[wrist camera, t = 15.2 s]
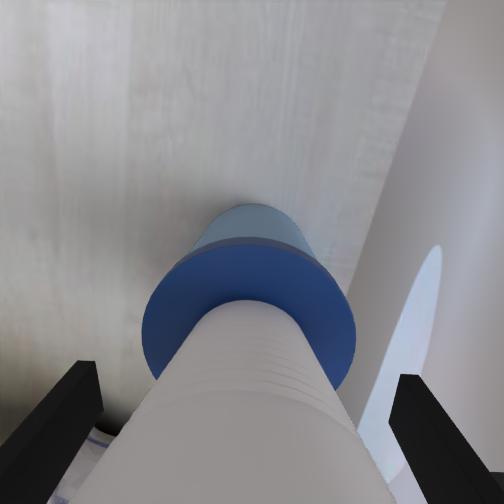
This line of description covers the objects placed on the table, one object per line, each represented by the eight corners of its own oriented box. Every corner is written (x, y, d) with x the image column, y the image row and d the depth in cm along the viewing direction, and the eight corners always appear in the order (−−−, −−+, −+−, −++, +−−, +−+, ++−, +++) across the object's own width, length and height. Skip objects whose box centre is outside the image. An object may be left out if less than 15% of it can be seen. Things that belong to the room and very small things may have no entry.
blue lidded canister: (316, 203, 27) (373, 249, 13) (305, 310, 30) (341, 430, 17) (193, 198, 27) (129, 240, 13) (197, 306, 30) (150, 422, 17)
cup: (250, 219, 13) (215, 476, 3) (378, 350, 15) (644, 782, 5) (119, 342, 15) (-179, 740, 5) (246, 441, 17) (227, 863, 7)
